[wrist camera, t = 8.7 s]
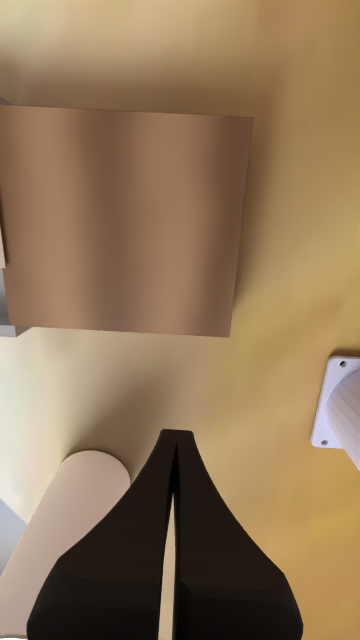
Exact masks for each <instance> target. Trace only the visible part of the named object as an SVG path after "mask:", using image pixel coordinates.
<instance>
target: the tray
mask: <svg viewBox="0 0 360 640" xmlns="http://www.w3.org/2000/svg"><path fill="white" fill-rule="evenodd" d="M0 105H11V104H10V103H8V102H7V101H6V100H4V99H3V98H1V97H0ZM30 328H31V326H12V325H10V324H9V316H8V309H7V301H6V294H5V286H4V279H3V271H2V268H0V336H3V337H17V336H19V335H20V334H22V333H23V332H25V331H27V330H28V329H30Z"/></svg>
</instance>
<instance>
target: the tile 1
mask: <svg viewBox="0 0 360 640" xmlns="http://www.w3.org/2000/svg"><path fill="white" fill-rule="evenodd" d="M0 268H6V267H5V259H4V252H3V244H2V236H1V229H0Z"/></svg>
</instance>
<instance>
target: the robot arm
mask: <svg viewBox="0 0 360 640" xmlns="http://www.w3.org/2000/svg"><path fill="white" fill-rule="evenodd" d="M342 361H344V364H342V365H340V363H341V362H342ZM310 440H311V443H312V444H313V446H315V447H326V448H343V449H344V450H345V451H346V453H347V454H348V455H349V457H350V458H351V460H352V461H353V462H354V464H355V465H356V467H357V468H358V469H359V471H360V357H351V356H332V357H330V358H329V360H328V363H327V367H326V372H325V376H324V381H323V385H322V390H321V394H320V399H319V403H318V408H317V412H316V417H315V421H314V425H313V430H312V434H311V439H310ZM323 440H325V441H324V442H322V441H323ZM173 496H174V525H175V580H174V604H173V627H172V640H301V638H302V635H303V622H302V618H301V614H300V611H299V608H298V605H297V603H296V600H295V598H294V595H293V593H292V590H291V588H290V586H289V583H288V581H287V579H286V577H285V575H284V573H283V572H282V571H281V570H280V569H279V568H278V567H277V566H276V565H275V564H274V563H273V562H272V561H271V560H270V559H269V558H268V557H267V556H266V555H265V554H264V553H263V551H262V550H261V549H260V548H259V547H258V546H257V545H256V543H255V542H254V541H253V540H252V539H251V538H250V536H249V535H248V534H247V532H246V531H245V530H244V529H243V527H242V526H241V525H240V523H239V522H238V521H237V520H236V518H235V517H234V516H233V514H232V513H231V511H230V510H229V508H228V507H227V505H226V504H225V502H224V501H223V499H222V497H221V496H220V494H219V492H218V491H217V489H216V487H215V485H214V484H213V482H212V480H211V478H210V476H209V474H208V472H207V470H206V468H205V465H204V463H203V461H202V459H201V456H200V454H199V451H198V448H197V445H196V442H195V439H194V434H193V432H192V431H186V430H171V429H163V430H161V432H160V435H159V438H158V440H157V443H156V445H155V447H154V449H153V451H152V453H151V455H150V456H149V458H148V460H147V462H146V463H145V465H144V467H143V468H142V470H141V471H140V473H139V474H138V476H137V477H136V479H135V480H134V482H133V483H132V484H131V486H130V487H129V489H128V490H127V491H126V492H125V494H124V495H123V496H122V497H121V499H120V500H119V501H118V502H117V503H116V504H115V506H114V507H113V508H112V509H111V510H110V511H109V512H108V513H107V514H106V515H105V517H104V518H103V519H102V520H101V521H99V522H98V523H97V524H96V525H95V526H94V527H93V528H92V529H91V530H90V531H89V532H88V533H87V534H86V535H85V536H84V537H83V538H82V539H80V540H79V541H78V542H77V543H76V544H75V545H73V546H72V547H71V548H70V549H69V550H67V551H66V552H65V553H64V554H63V555H61V556H60V557H59V558H58V559H57V561H56V563H55V564H54V566H53V568H52V569H51V571H50V573H49V574H48V576H47V578H46V580H45V582H44V584H43V586H42V588H41V590H40V592H39V594H38V596H37V599H36V601H35V604H34V606H33V608H32V611H31V613H30V616H29V618H28V621H27V626H26V633H27V640H158V633H159V619H160V605H161V591H162V576H163V562H164V553H165V545H166V538H167V531H168V524H169V518H170V511H171V504H172V497H173Z"/></svg>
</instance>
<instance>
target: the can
mask: <svg viewBox="0 0 360 640" xmlns="http://www.w3.org/2000/svg"><path fill="white" fill-rule="evenodd" d="M129 487H130V477H129V474H128V472H127V470H126V468H125V467H124V466H123V464H122V463H121V462H120V461H119V460H118V459H117V458H115V457H114V456H112V455H110V454H108V453H105V452H102V451H97V450H87V451H82V452H78V453H75V454H72V455H71V456H69V457H67V458H66V459H65V460H64V461H63V462H62V464H61V465H60V467H59V468H58V470H57V472H56V474H55V476H54V477H53V479H52V481H51V483H50V485H49V487H48V488H47V490H46V492H45V494H44V496H43V498H42V500H41V501H40V503H39V505H38V507H37V509H36V511H35V513H34V514H33V516H32V518H31V520H30V522H29V524H28V526H27V528H26V529H25V531H24V533H23V535H22V537H21V539H20V541H19V543H18V544H17V546H16V548H15V550H14V552H13V554H12V556H11V558H10V559H9V561H8V563H7V565H6V567H5V569H4V571H3V573H2V574H1V577H0V640H27V633H26V626H27V621H28V618H29V616H30V613H31V611H32V608H33V606H34V604H35V601H36V599H37V596H38V594H39V592H40V590H41V588H42V586H43V584H44V582H45V580H46V578H47V576H48V574H49V573H50V571H51V569H52V568H53V566H54V564H55V563H56V561H57V559H58V558H59V557H60V556H61V555H63V554H64V553H65V552H66V551H67V550H69V549H70V548H71V547H72V546H73V545H75V544H76V543H77V542H78V541H79V540H80V539H82V538H83V537H84V536H85V535H86V534H87V533H88V532H89V531H90V530H91V529H92V528H93V527H94V526H95V525H96V524H97V523H98V522H99V521H101V520H102V519H103V518H104V517H105V515H106V514H107V513H108V512H109V511H110V510H111V509H112V508H113V507H114V506H115V504H116V503H117V502H118V501H119V500H120V499H121V497H122V496H123V495H124V494H125V492H126V491H127V490H128V489H129Z"/></svg>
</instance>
